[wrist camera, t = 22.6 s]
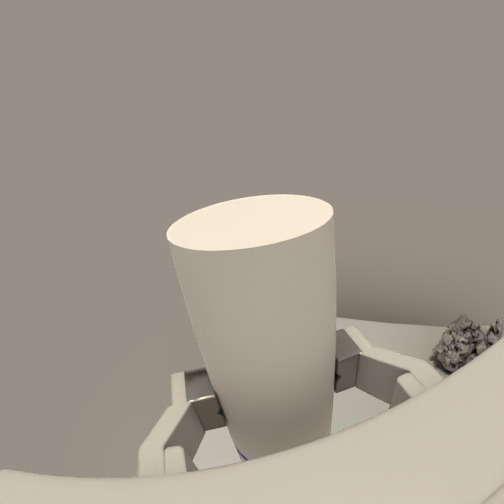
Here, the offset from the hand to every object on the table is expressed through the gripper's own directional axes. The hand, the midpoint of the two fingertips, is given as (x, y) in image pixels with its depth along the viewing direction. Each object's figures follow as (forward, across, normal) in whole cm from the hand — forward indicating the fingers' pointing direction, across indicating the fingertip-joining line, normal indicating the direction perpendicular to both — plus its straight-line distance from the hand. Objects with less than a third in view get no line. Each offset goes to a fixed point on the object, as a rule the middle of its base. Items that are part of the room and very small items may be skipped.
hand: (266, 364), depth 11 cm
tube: (-1, 0, +9) cm, 9 cm away
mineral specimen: (+12, -34, +28) cm, 45 cm away
